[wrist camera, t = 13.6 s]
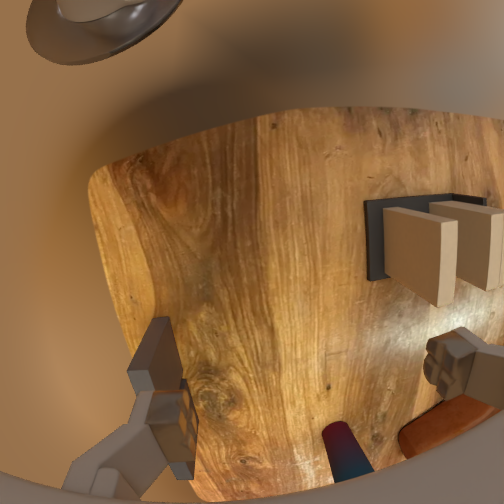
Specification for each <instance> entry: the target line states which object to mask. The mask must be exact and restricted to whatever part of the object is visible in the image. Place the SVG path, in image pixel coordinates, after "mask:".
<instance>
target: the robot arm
mask: <svg viewBox="0 0 504 504" xmlns="http://www.w3.org/2000/svg"><path fill="white" fill-rule="evenodd" d="M56 1H57V3H58V5H59V8H60V12H61V14H62V15H63V16H64V17H65V18H66V19H68V20H70V21H73V22H88V21H93V20H96V19H99V18H102V17H104V16H107V15H109V14H111V13H113V12H115V11H116V10H118V9H120V8H122V7H124V6H127V5H132V4H137V3H140V2H143V1H145V0H56ZM426 350H427V352H428V355H427V356H426V358H425V359H424V364H423V370H424V375H425V377H426V379H427V381H428V382H429V383H430V384H433V385H436V386H437V390H436V391H437V392H438V393H439V394H440V395H441V396H442V398H443V399H444V400H445V401H448V400H450V399H452V398H455V397H457V396H459V395H461V394H464V395H467V396H469V397H471V398H474V399H476V400H478V401H481V402H483V403H485V404H488V405H490V406H493V407H495V408H497V409H500V410H501V411H500V412H498V413H497V414H495V415H494V416H492V417H490V418H489V419H487V420H485V421H484V422H482V423H480V424H479V425H477V426H475V427H473V428H472V429H470V430H468V431H466V432H464V433H463V434H461V435H459V436H457V437H455V438H453V439H451V440H449V441H447V442H445V443H443V444H441V445H439V446H437V447H435V448H432V449H430V450H428V451H426V452H424V453H421V454H419V455H417V456H414V457H412V458H410V459H407V460H405V461H402V462H400V463H397V464H394V465H392V466H389V467H386V468H383V469H380V470H378V471H375V472H372V473H369V474H366V475H362V476H359V477H356V478H352V479H349V480H345V481H342V482H338V483H334V484H330V485H326V486H322V487H318V488H314V489H309V490H304V491H299V492H294V493H289V494H283V495H277V496H270V497H263V498H255V499H247V500H236V501H224V502H205V503H165V502H145V501H141V500H140V497H141V496H142V495H143V494H144V493H145V492H146V490H147V489H148V488H149V487H150V486H151V485H152V483H153V482H154V481H155V480H156V479H157V477H158V476H159V475H160V474H161V473H162V471H163V470H164V469H165V468H166V467H167V465H168V463H174V462H192V461H195V453H196V445H195V442H194V440H193V439H194V438H195V437H196V436H197V422H196V417H195V413H194V410H193V409H192V408H191V407H190V406H189V401H190V398H189V396H188V393H187V391H186V390H185V389H180V390H158V391H140V392H139V393H138V395H137V398H136V401H135V404H134V406H133V409H132V412H131V415H130V418H129V421H128V424H123V425H122V426H121V427H119V428H118V429H116V430H115V431H114V432H112V433H111V434H110V435H108V436H107V437H106V438H104V439H103V440H102V441H100V442H99V443H98V444H96V445H95V446H94V447H92V448H91V449H89V450H88V451H87V452H85V453H84V454H83V455H81V456H80V457H78V458H77V459H76V460H75V461H73V462H72V464H71V466H70V469H69V471H68V473H67V476H66V478H65V481H64V483H63V486H62V488H61V489H58V488H54V487H50V486H46V485H42V484H39V483H35V482H31V481H28V480H25V479H22V478H19V477H16V476H13V475H9V474H7V473H4V472H1V471H0V504H504V346H500V345H495V344H490V345H488V344H487V343H485V342H484V341H483V340H481V339H480V338H479V337H477V336H476V335H474V334H473V333H472V332H470V331H469V330H468V329H466V328H465V327H459V328H456V329H454V330H451V331H450V332H447V333H444V334H442V335H439V336H436V337H433V338H430V339H429V340H428V342H427V345H426Z"/></svg>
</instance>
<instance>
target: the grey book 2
mask: <svg viewBox="0 0 504 504" xmlns="http://www.w3.org/2000/svg"><path fill="white" fill-rule="evenodd" d="M180 389H185V390H186V391H187V393H188V396H189V398H190V401H189V406H190V407H191V408H192V409H193V410H194V413H195V417H196V422H197V434H198V423H199V419H198V416H197V413H196V410H195V407H194V404H193V401H192V397H191V394H190V391H189V388H188V384H187V381H186V379H181V383H180V388H179V390H180ZM193 440H194V442H195V445H197V436H196V437H195V438H194V439H193ZM195 457H196V453H195ZM168 464H169V466H170V468H171V470H172V471H173V473H174V475H175V477H176V479H177V480H194V470H195V461H192V462H174V463H168Z"/></svg>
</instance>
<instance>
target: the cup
mask: <svg viewBox="0 0 504 504" xmlns="http://www.w3.org/2000/svg"><path fill="white" fill-rule="evenodd" d="M322 436H323V440H324V444H325V448H326V452H327V455H328V459H329V463H330V467H331V471H332V475H333V479H334V483H338V482H342V481H345V480H349V479H352V478H356V477H359V476H362V475H366V474H369V473H372V472H375V471H374V469H373V468H372V466H371V464H370V462H369V461H368V459H367V457H366V456H365V454H364V452H363V450H362V449H361V447H360V445H359V443H358V442H357V440H356V438H355V437H354V435H353V433H352V431H351V430H350V428H349V426H348V425H347V423H345V422H341V421H339V422H334V423H331V424H330V425H328V426H327V427H325V429H324V430H323V432H322Z"/></svg>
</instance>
